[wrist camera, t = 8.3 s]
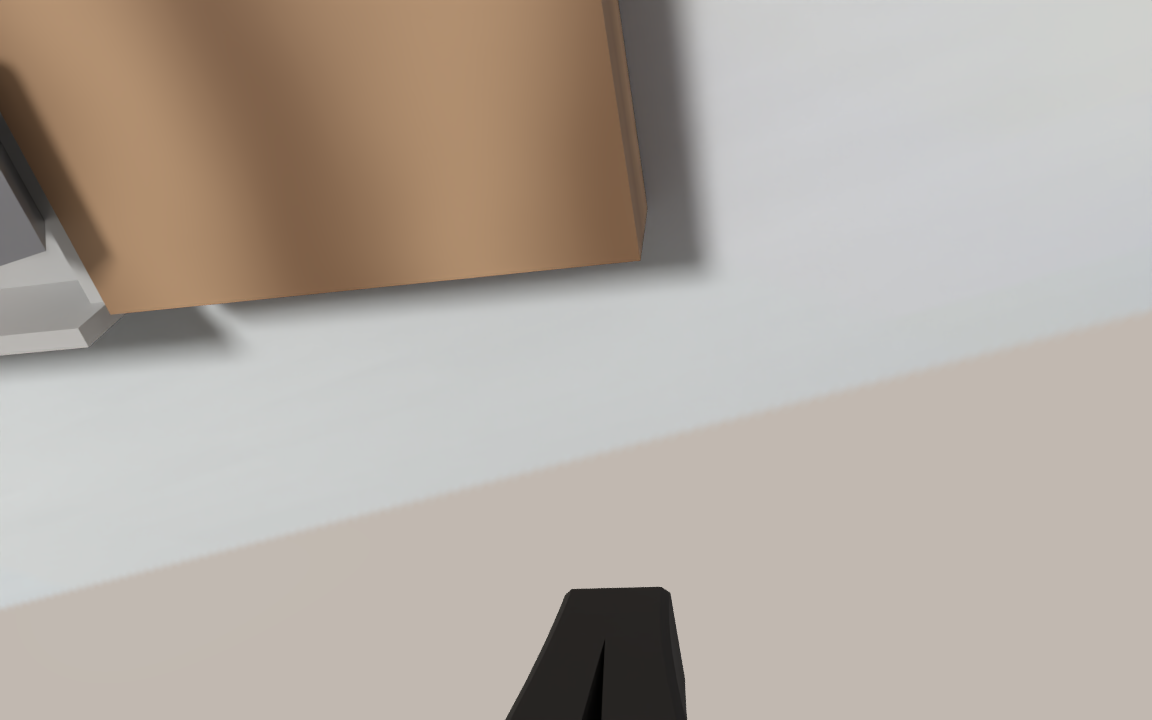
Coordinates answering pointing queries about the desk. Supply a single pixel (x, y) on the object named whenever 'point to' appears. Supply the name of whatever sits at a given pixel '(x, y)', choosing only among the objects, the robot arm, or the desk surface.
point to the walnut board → (324, 141)
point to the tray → (47, 284)
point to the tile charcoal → (18, 216)
